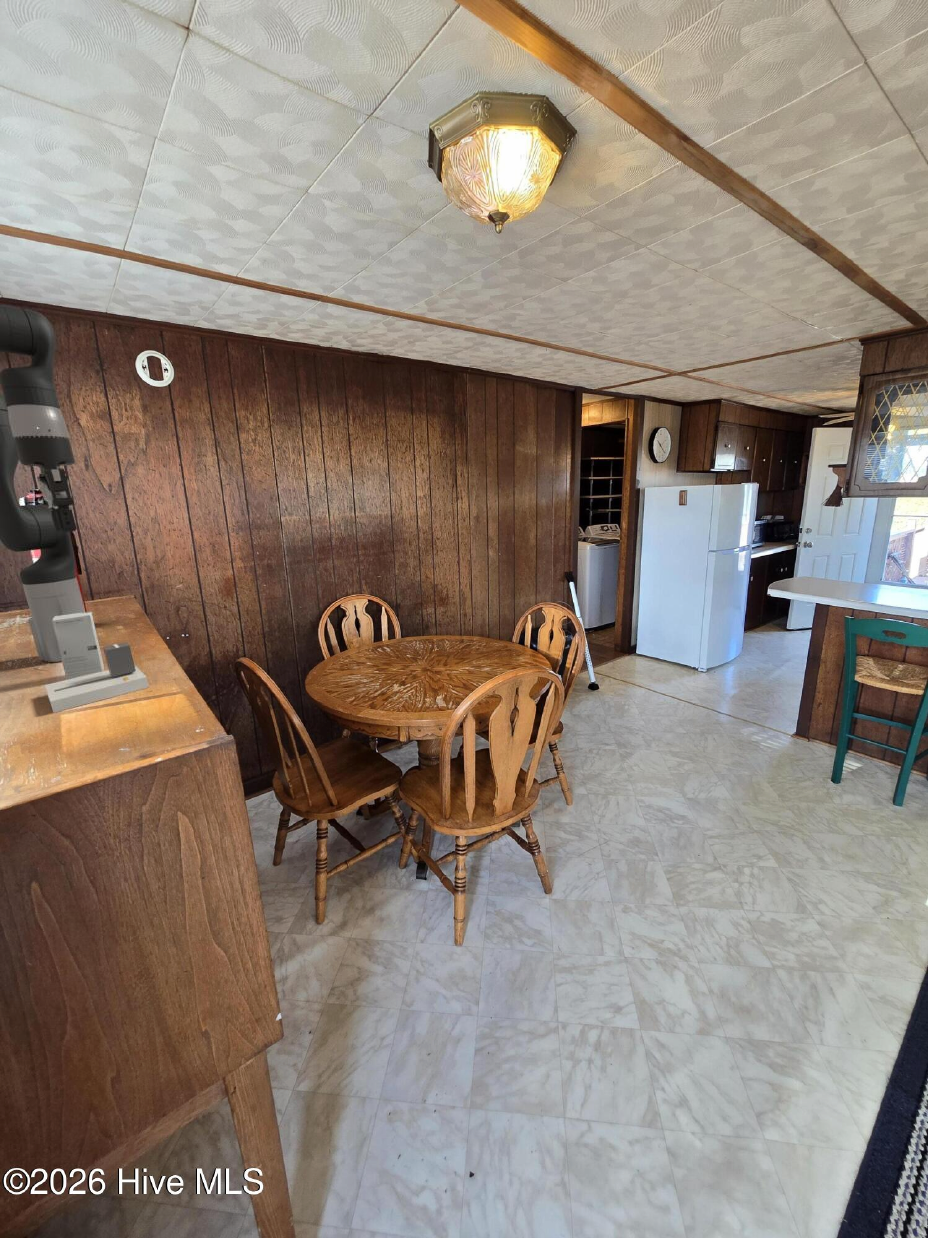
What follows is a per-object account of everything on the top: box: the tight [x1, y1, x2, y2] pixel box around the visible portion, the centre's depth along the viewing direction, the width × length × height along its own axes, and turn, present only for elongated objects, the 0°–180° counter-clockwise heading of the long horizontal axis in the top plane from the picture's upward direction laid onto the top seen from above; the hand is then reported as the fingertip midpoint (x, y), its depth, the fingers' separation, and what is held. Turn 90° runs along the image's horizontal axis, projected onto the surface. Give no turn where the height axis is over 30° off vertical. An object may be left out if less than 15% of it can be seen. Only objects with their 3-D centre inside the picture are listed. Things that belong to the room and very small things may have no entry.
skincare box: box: [52, 611, 105, 680], centre depth 97 cm, size 6×4×12 cm
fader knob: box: [102, 642, 136, 677], centre depth 90 cm, size 4×3×5 cm
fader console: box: [44, 664, 150, 714], centre depth 88 cm, size 14×11×2 cm
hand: (66, 531), depth 89 cm, fingers open, 8 cm apart
